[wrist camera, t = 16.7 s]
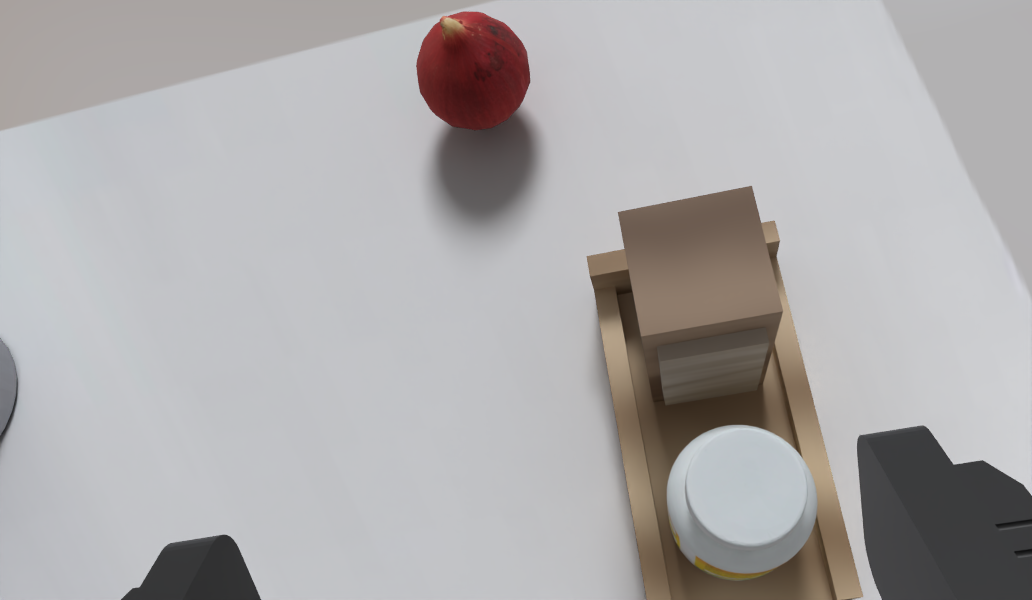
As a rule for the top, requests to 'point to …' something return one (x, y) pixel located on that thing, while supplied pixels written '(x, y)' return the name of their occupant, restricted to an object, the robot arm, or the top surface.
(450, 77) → the onion
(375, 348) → the top surface
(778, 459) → the supplement bottle
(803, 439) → the wooden box stand
